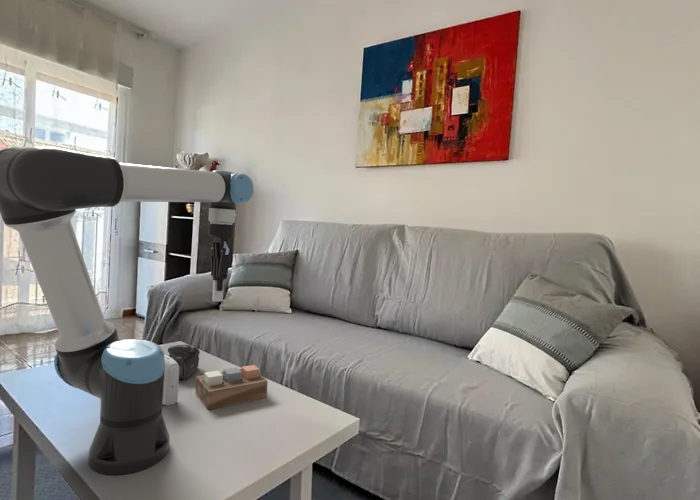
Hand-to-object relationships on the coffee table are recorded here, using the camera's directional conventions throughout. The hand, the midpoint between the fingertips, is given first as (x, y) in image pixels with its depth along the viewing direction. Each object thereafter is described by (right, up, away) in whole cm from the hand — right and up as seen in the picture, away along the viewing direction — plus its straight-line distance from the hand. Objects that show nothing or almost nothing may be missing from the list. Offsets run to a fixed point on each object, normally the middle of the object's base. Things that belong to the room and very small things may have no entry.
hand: (217, 300), depth 121 cm
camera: (-14, -25, +9) cm, 30 cm away
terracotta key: (+10, -25, -1) cm, 27 cm away
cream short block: (+1, -25, -7) cm, 26 cm away
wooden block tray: (+5, -27, -4) cm, 28 cm away
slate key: (+6, -25, -4) cm, 26 cm away
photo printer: (-12, -26, -10) cm, 31 cm away
